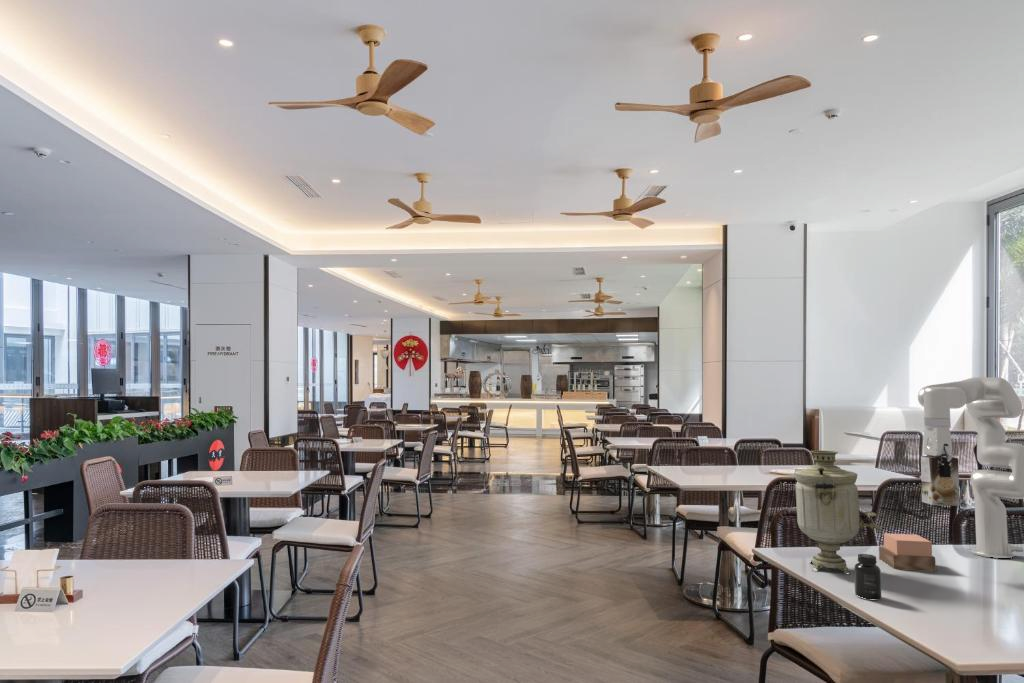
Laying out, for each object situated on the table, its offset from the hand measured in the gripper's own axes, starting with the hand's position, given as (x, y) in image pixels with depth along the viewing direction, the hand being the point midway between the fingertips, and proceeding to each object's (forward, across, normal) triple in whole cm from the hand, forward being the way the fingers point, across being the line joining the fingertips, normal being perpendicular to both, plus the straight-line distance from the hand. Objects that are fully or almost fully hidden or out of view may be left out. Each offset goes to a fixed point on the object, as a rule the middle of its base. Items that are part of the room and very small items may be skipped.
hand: (939, 475), depth 218 cm
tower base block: (+33, -7, -8) cm, 35 cm away
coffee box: (+10, 0, 0) cm, 10 cm away
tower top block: (+28, -7, -8) cm, 30 cm away
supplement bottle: (+32, +33, -36) cm, 59 cm away
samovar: (+33, +5, -36) cm, 49 cm away
